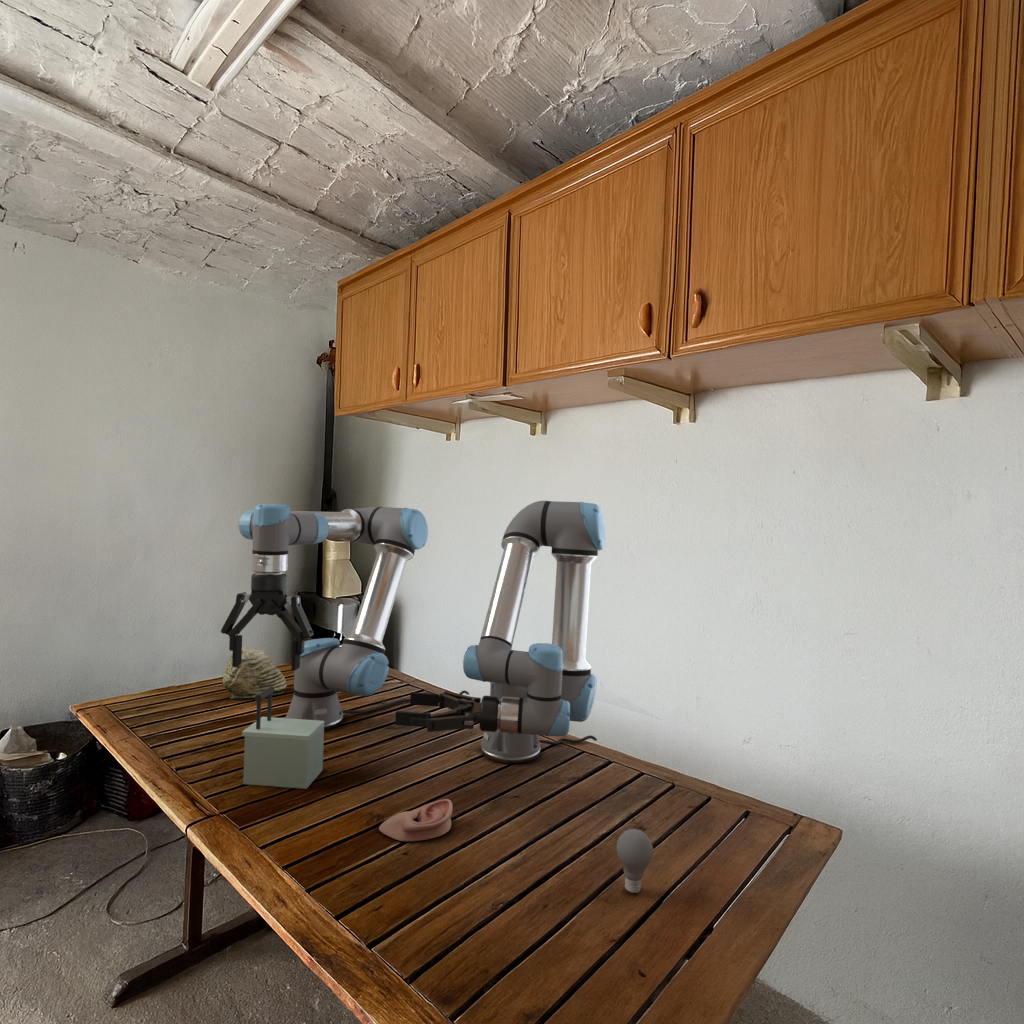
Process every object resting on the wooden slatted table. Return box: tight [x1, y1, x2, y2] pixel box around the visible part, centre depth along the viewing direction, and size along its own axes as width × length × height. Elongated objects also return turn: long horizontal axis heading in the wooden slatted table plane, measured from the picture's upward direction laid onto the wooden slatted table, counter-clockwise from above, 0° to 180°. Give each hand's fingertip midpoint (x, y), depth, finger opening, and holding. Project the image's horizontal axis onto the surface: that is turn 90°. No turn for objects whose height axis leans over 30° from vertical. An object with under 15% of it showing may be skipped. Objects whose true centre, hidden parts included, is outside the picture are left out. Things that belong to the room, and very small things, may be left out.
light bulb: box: [615, 828, 654, 894], centre depth 106 cm, size 6×6×10 cm
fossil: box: [222, 646, 288, 699], centre depth 198 cm, size 9×18×15 cm, turn 132°
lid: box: [241, 687, 324, 741], centre depth 142 cm, size 15×10×9 cm, turn 86°
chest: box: [242, 726, 325, 790], centre depth 142 cm, size 14×10×10 cm
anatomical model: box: [378, 798, 454, 842], centre depth 123 cm, size 13×4×12 cm
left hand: (266, 667), depth 142 cm, fingers open, 13 cm apart
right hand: (403, 707), depth 140 cm, fingers open, 13 cm apart
